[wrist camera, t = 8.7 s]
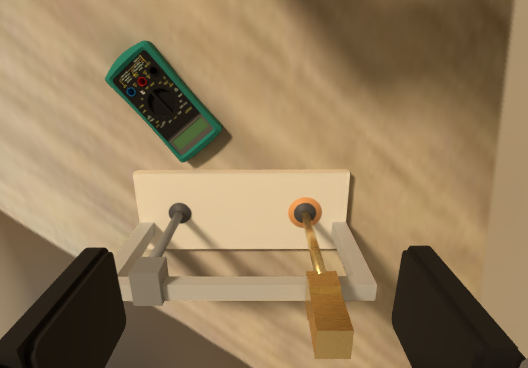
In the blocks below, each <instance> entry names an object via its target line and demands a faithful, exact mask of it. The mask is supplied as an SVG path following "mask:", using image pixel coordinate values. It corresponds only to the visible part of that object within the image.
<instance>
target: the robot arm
mask: <svg viewBox="0 0 528 368" xmlns="http://www.w3.org/2000/svg"><path fill="white" fill-rule="evenodd" d="M392 324H393V328H394V330H395V332H396V334H397V336H398V339H399V341H400V343H401V345H402V347H403V349H404V351H405V353H406V355H407V358H408V360H409V362H410V364H411V366H412V368H528V359H526V358H525V357H524V356H523V355H522V353H520V351H519V350H518V347H517V346H516V345H515V344H514V343H513V341H512V340H511V339H510V338H509V337H508V336H507V335H506V333H505V332H504V331H503V330H502V329H501V328H500V327H499V325H498V324H497V323H496V322H495V321H494V319H493V318H492V317H491V316H490V315H489V314H488V313H487V311H486V310H485V309H484V308H483V307H482V306H481V304H480V303H479V302H478V301H477V300H476V299H475V298H474V296H473V295H472V294H471V293H470V292H469V291H468V289H467V288H466V287H465V286H464V285H463V284H462V283H461V281H460V280H459V279H458V278H457V277H456V276H455V274H454V273H453V272H452V271H451V270H450V269H449V268H448V266H447V265H446V264H445V263H444V262H443V261H442V259H441V258H440V257H439V256H438V255H437V254H436V253H435V251H434V250H433V249H432V248H431V247H430V246H409V248H408V250H404V251H403V253H402V258H401V264H400V270H399V276H398V282H397V288H396V294H395V300H394V306H393V312H392ZM125 325H126V315H125V310H124V305H123V300H122V295H121V290H120V285H119V280H118V275H117V270H116V265H115V260H114V255H113V253H112V252H108V250H107V248H86V249H84V250H83V251H82V252H81V253H80V255H79V256H78V257H77V258H76V259H75V260H74V261H73V262H72V263H71V264H70V265H69V267H67V268H66V270H65V271H64V272H63V273H62V274H61V275H60V276H59V277H58V278H57V279H56V281H54V282H53V284H52V285H51V286H50V287H49V288H48V289H47V290H46V291H45V292H44V293H43V294H42V296H40V298H39V299H38V300H37V301H36V302H35V303H34V304H33V305H32V306H31V307H30V308H29V309H28V310H27V312H26V313H25V314H24V315H23V316H22V317H21V318H20V319H19V320H18V321H17V322H16V323H15V325H14V326H13V327H12V328H11V329H10V330H9V331H8V332H7V333H6V334H5V335H4V336H3V337H2V338H1V340H0V368H105V366H106V364H107V362H108V360H109V358H110V356H111V354H112V352H113V350H114V348H115V346H116V345H117V342H118V341H119V339H120V337H121V335H122V332H123V331H124V329H125Z"/></svg>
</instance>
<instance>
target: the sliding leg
mask: <svg viewBox="0 0 528 368" xmlns="http://www.w3.org/2000/svg"><path fill="white" fill-rule="evenodd" d="M301 217H302V221H303V225H304V230H305V234H306V239H307V243H308V247H309V252H310V256H311V260H312V265H313V269H314V271H306V293H305V306H306V313H307V319H308V320H309V326H310V332H311V338H312V344H313V350H314V356H315V359H351V352H352V343H353V334H354V330H353V326H352V323H351V320H350V317H349V314H348V311H347V308H346V305H345V302H344V299H343V296H342V293H341V284H340V281H339V278H338V275H337V272H336V271H326V269H325V266H324V262H323V259H322V256H321V252H320V249H319V245H318V242H317V238H316V235H315V231H314V228H313V224H312V221H311V217H310V214H309V212H308V211H303V212H302V213H301Z"/></svg>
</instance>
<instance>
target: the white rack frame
mask: <svg viewBox="0 0 528 368" xmlns="http://www.w3.org/2000/svg"><path fill="white" fill-rule="evenodd" d="M133 179H134V186H135V192H136V199H137V206H138V212H139V219H140V223H139V224H138V226H137V227H136V228H135V229H134V231H133V232H132V233H131V235H130V236H129V237H128V238H127V240H126V241H125V242H124V244H123V245H122V246H121V247H120V249H119V250H118V251H117V253H116V254H115V255H114V260H115V265H116V270H117V275H118V280H119V285H120V290H121V295H122V300H123V301H133V304H134V306H162V305H163V303H164V301H305V293H306V276H236V277H169V275H168V267H167V259H166V257H162V255H163V253H164V251H165V249H309V247H308V243H307V239H306V234H305V230H304V225H303V221H302V217H301V213H302V212H303V211H308V212H309V214H310V217H311V221H312V224H313V228H314V231H315V235H316V238H317V242H318V245H319V249H337V251H338V254H339V256H340V259H341V262H342V264H343V267H344V270H345V272H346V275H347V276H338V278H339V281H340V284H341V293H342V296H343V299H344V301H375V298H376V290H377V284H376V282H375V280H374V278H373V276H372V274H371V272H370V270H369V268H368V266H367V264H366V262H365V260H364V257H363V255H362V253H361V251H360V249H359V247H358V245H357V243H356V241H355V239H354V237H353V235H352V233H351V231H350V229H349V227H348V225H347V223H346V214H347V203H348V192H349V181H350V172H349V171H348V170H136V171H135V172H134V173H133ZM146 249H153V251H152V253H151V254H150V256H149V257H141V256H142V255H143V253H144V251H145V250H146Z"/></svg>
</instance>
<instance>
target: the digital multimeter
mask: <svg viewBox="0 0 528 368" xmlns="http://www.w3.org/2000/svg"><path fill="white" fill-rule="evenodd" d="M151 56H152V57H151ZM157 63H158V64H157ZM164 71H165V72H164ZM170 78H171V79H170ZM105 81H106V82H107V83H108V84H109V85H110V86H111V87H112V88H113V89H114V90H115V91H116V92H117V93H118V94H119V95H120V96H121V97H122V98H123V99H124V100H125V101H126V102H127V103H128V104H129V105H130V106H131V107H132V108H133V109H134V110H135V111H136V112H137V113H138V114H139V115H140V116H141V117H142V118H143V120H144V121H145V122H146V123H147V124H148V125H149V126H150V127H151V128H152V129H153V131H154V132H155V133H156V134H157V135H158V136H159V137H160V138H161V139H162V141H163V142H164V143H165V144H166V145H167V147H168V148H169V149H170V150H171V151H172V152H173V154H174V155H175V156H176V157H177V158H178V159H179V161H181V162H186V161H187V160H188V159H190V158H191V157H193V156H194V155H195V154H197V153H198V152H200V151H201V150H202V149H203V148H204V147H206V146H207V145H208V144H209V143H210V142H211V141H212V140H213V139H214V138H215V137H216V136H217V135H218V134H219V133H220V132H221V130H222V129H223V126H222V125H221V124H220V122H219V121H218V120H217V119H216V118H215V117H214V116H213V115H212V114H211V113H210V112H209V111H208V110H207V109H206V107H205V106H204V105H203V104H202V103H201V102H200V101H199V100H198V99H197V98H196V96H195V95H194V94H193V93H192V92H191V91H190V90H189V88H188V87H187V86H186V85H185V84H184V83H183V82H182V80H181V79H180V78H179V77H178V75H177V74H176V73H175V72H174V70H173V69H172V68H171V67H170V66H169V64H168V63H167V62H166V61H165V59H164V58H163V57H162V56H161V54H160V53H159V52H158V50H157V49H156V48H155V47H154V45H153V44H152V43H151V42H149V41H141V42H140V43H138V44H136V45H134V46H132V47H131V48H129V49H128V50H126V51H125V52H124V53H123V54H122V55H121V56H120V57H119V58H118V59H117V60H116V61H115V62H114V64H113V65H112V67H111V68H110V70H109V72H108V74H107V76H106V77H105ZM183 93H184V94H183ZM190 101H191V102H190ZM196 108H197V109H196Z"/></svg>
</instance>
